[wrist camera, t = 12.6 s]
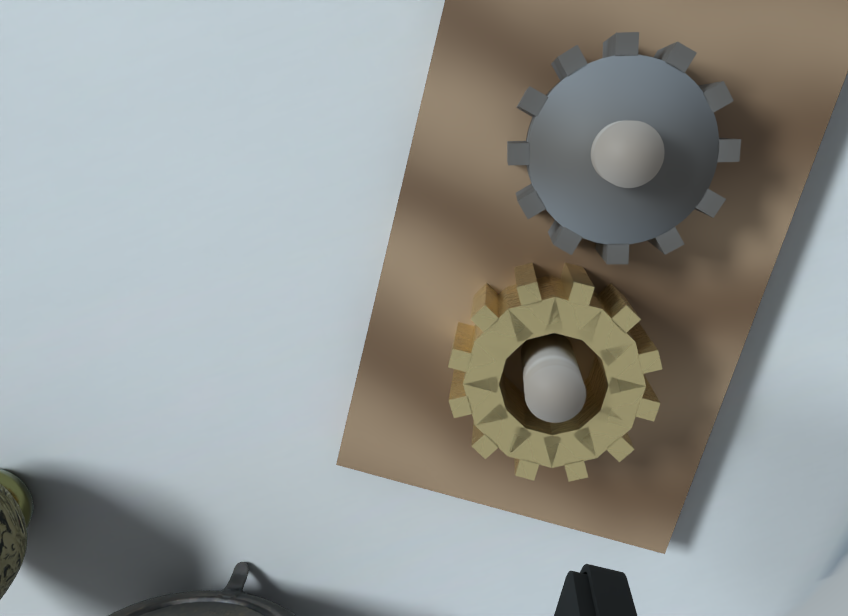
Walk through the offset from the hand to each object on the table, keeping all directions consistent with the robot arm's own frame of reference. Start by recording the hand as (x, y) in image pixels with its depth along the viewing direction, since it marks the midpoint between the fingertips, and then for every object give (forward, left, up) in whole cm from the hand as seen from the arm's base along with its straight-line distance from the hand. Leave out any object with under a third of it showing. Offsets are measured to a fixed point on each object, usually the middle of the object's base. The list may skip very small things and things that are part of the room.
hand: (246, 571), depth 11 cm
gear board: (-3, +6, -20) cm, 21 cm away
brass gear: (+1, +6, -19) cm, 19 cm away
